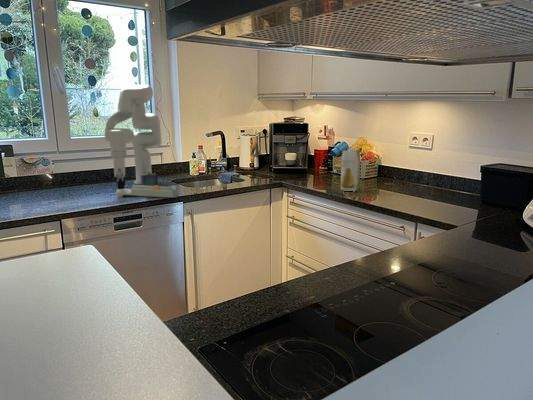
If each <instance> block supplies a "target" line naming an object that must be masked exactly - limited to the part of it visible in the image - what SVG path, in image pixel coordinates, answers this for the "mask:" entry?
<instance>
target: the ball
mask: <svg viewBox="0 0 533 400" xmlns="http://www.w3.org/2000/svg"><path fill="white" fill-rule="evenodd" d="M153 190H160V186H159V184H158V185H155V186H154V187H153Z"/></svg>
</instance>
